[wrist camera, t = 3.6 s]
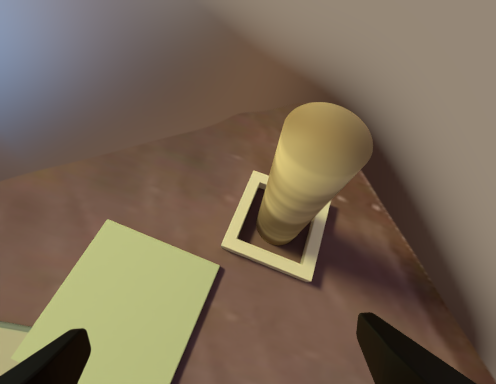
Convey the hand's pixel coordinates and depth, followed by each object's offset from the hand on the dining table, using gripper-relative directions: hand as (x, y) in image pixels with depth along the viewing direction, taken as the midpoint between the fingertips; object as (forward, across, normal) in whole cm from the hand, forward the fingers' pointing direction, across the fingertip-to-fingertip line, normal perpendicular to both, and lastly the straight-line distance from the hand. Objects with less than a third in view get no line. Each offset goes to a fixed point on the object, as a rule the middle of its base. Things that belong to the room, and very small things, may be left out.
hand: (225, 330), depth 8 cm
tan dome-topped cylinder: (+14, -4, +2) cm, 15 cm away
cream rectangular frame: (+14, -4, +2) cm, 15 cm away
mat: (+9, +9, +7) cm, 15 cm away
